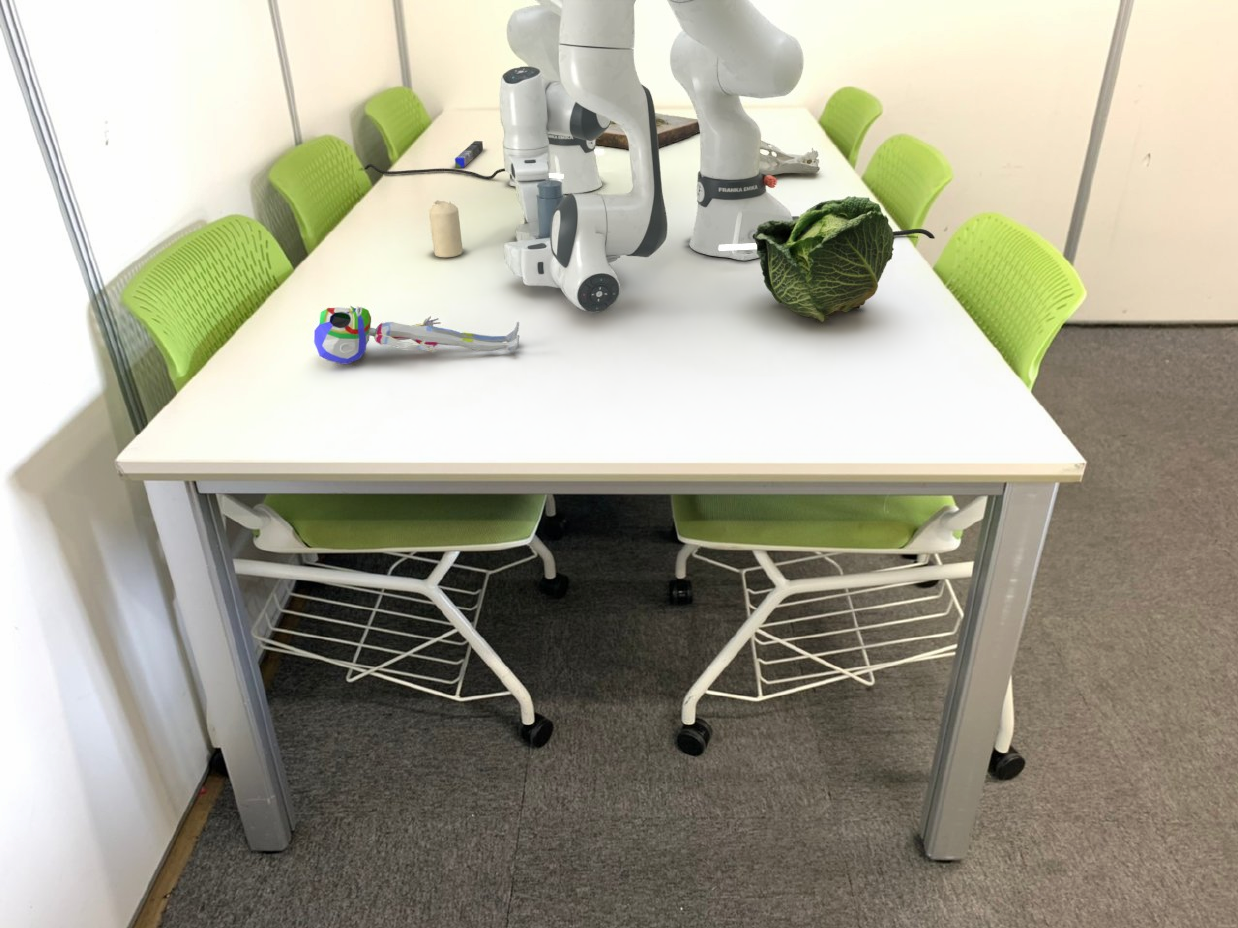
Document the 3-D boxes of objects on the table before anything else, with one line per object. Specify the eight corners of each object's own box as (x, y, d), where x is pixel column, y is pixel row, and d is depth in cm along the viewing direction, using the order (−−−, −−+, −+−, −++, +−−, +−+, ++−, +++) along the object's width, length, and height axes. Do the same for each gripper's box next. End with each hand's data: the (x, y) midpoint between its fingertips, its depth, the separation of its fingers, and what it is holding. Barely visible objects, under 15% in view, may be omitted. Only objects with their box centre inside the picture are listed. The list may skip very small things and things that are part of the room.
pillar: (482, 141, 246) (462, 159, 229) (483, 149, 247) (463, 167, 230) (474, 141, 246) (454, 159, 230) (475, 149, 247) (455, 167, 231)
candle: (467, 249, 176) (462, 199, 171) (454, 259, 172) (448, 207, 167) (442, 247, 178) (436, 196, 172) (429, 256, 173) (422, 204, 168)
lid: (536, 246, 178) (535, 235, 177) (510, 241, 181) (509, 230, 179) (552, 237, 183) (551, 225, 181) (527, 232, 185) (526, 221, 184)
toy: (520, 333, 130) (306, 316, 126) (516, 385, 135) (309, 370, 130) (519, 307, 139) (319, 289, 134) (515, 356, 143) (321, 341, 139)
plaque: (647, 125, 237) (559, 112, 252) (647, 153, 241) (560, 139, 256) (706, 107, 258) (622, 97, 273) (705, 133, 262) (622, 121, 277)
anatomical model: (720, 129, 225) (821, 128, 221) (719, 166, 230) (818, 165, 226) (716, 143, 213) (823, 142, 209) (716, 182, 218) (820, 182, 214)
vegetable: (781, 336, 156) (729, 236, 148) (870, 275, 157) (823, 172, 149) (838, 357, 138) (781, 244, 130) (938, 287, 139) (888, 171, 131)
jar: (546, 261, 170) (542, 178, 162) (572, 264, 169) (568, 180, 161) (536, 271, 166) (530, 186, 158) (562, 273, 165) (557, 188, 157)
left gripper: (505, 148, 180) (511, 217, 188) (515, 174, 163) (521, 248, 171) (536, 147, 181) (541, 214, 189) (550, 172, 164) (554, 245, 172)
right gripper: (628, 237, 155) (604, 215, 166) (513, 251, 150) (496, 227, 161) (629, 272, 159) (605, 248, 170) (516, 286, 153) (499, 261, 164)
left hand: (531, 231), depth 180 cm, fingers open, 8 cm apart
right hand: (551, 238), depth 165 cm, fingers closed on jar, 5 cm apart
